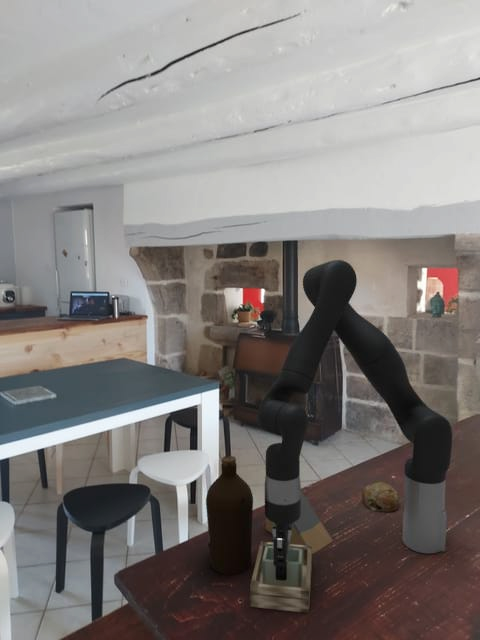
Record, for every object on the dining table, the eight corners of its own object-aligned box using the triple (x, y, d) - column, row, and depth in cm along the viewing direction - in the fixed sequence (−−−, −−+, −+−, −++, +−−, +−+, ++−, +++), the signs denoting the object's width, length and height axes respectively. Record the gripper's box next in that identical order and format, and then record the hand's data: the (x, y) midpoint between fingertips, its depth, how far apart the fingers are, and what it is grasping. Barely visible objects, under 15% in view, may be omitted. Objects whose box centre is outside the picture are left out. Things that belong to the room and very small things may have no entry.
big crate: (311, 564, 113) (311, 545, 113) (308, 613, 98) (309, 591, 97) (260, 560, 115) (260, 541, 115) (250, 606, 100) (250, 585, 99)
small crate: (302, 574, 108) (302, 548, 108) (300, 591, 103) (301, 564, 102) (265, 571, 110) (265, 545, 109) (262, 587, 105) (262, 560, 104)
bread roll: (360, 518, 140) (358, 499, 136) (365, 488, 148) (364, 470, 144) (397, 524, 136) (396, 505, 132) (400, 494, 144) (399, 475, 140)
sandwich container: (312, 555, 117) (312, 495, 115) (264, 530, 128) (264, 474, 126) (334, 541, 123) (334, 483, 121) (287, 518, 134) (286, 464, 132)
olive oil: (260, 554, 118) (259, 452, 114) (243, 581, 108) (242, 471, 105) (218, 545, 121) (216, 446, 118) (199, 570, 112) (196, 464, 108)
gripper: (298, 513, 96) (298, 591, 98) (302, 480, 110) (302, 549, 112) (260, 510, 98) (261, 587, 100) (268, 478, 112) (269, 546, 114)
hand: (282, 567), depth 106 cm, fingers open, 7 cm apart
